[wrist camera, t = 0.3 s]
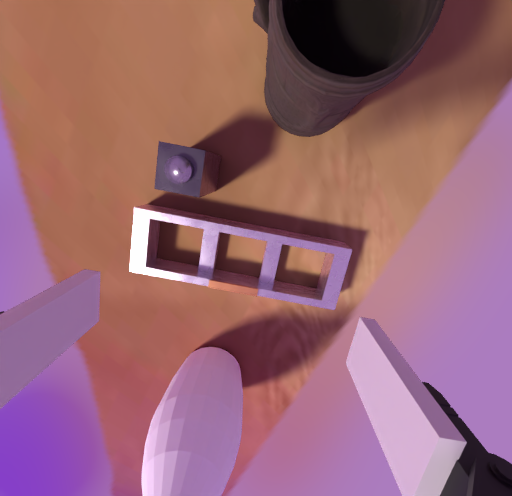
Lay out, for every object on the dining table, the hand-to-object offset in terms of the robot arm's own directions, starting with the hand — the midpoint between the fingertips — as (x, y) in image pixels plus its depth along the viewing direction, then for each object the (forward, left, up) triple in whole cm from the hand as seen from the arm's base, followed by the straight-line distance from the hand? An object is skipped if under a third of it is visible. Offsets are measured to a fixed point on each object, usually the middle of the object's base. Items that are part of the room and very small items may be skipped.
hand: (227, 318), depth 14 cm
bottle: (+24, -2, -26) cm, 35 cm away
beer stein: (-19, +2, -26) cm, 32 cm away
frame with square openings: (+4, -1, -25) cm, 26 cm away
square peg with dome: (-6, -8, -25) cm, 27 cm away
